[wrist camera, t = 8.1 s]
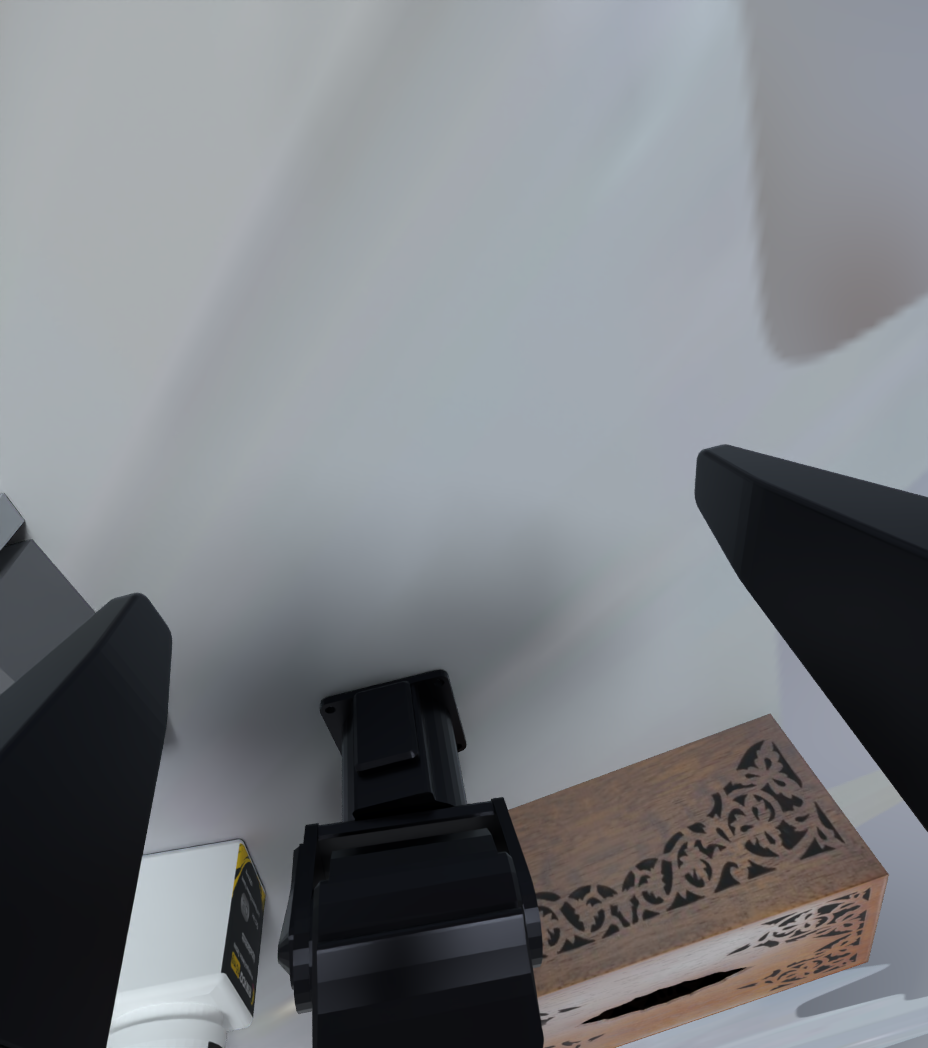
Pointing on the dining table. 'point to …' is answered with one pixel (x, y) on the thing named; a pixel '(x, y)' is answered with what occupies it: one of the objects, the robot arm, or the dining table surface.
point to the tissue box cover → (692, 887)
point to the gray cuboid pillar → (33, 609)
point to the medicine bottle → (190, 949)
